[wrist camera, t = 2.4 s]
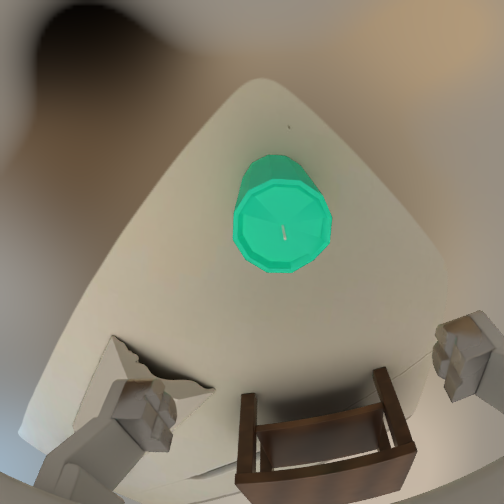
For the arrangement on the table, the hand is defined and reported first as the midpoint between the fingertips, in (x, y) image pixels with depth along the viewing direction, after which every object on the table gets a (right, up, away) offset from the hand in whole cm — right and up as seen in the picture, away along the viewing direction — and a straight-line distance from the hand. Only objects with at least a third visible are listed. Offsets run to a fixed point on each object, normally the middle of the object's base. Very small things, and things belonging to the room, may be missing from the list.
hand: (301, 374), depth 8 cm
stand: (+8, -20, +33) cm, 39 cm away
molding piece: (-22, -23, +35) cm, 47 cm away
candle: (+1, +9, +20) cm, 22 cm away
